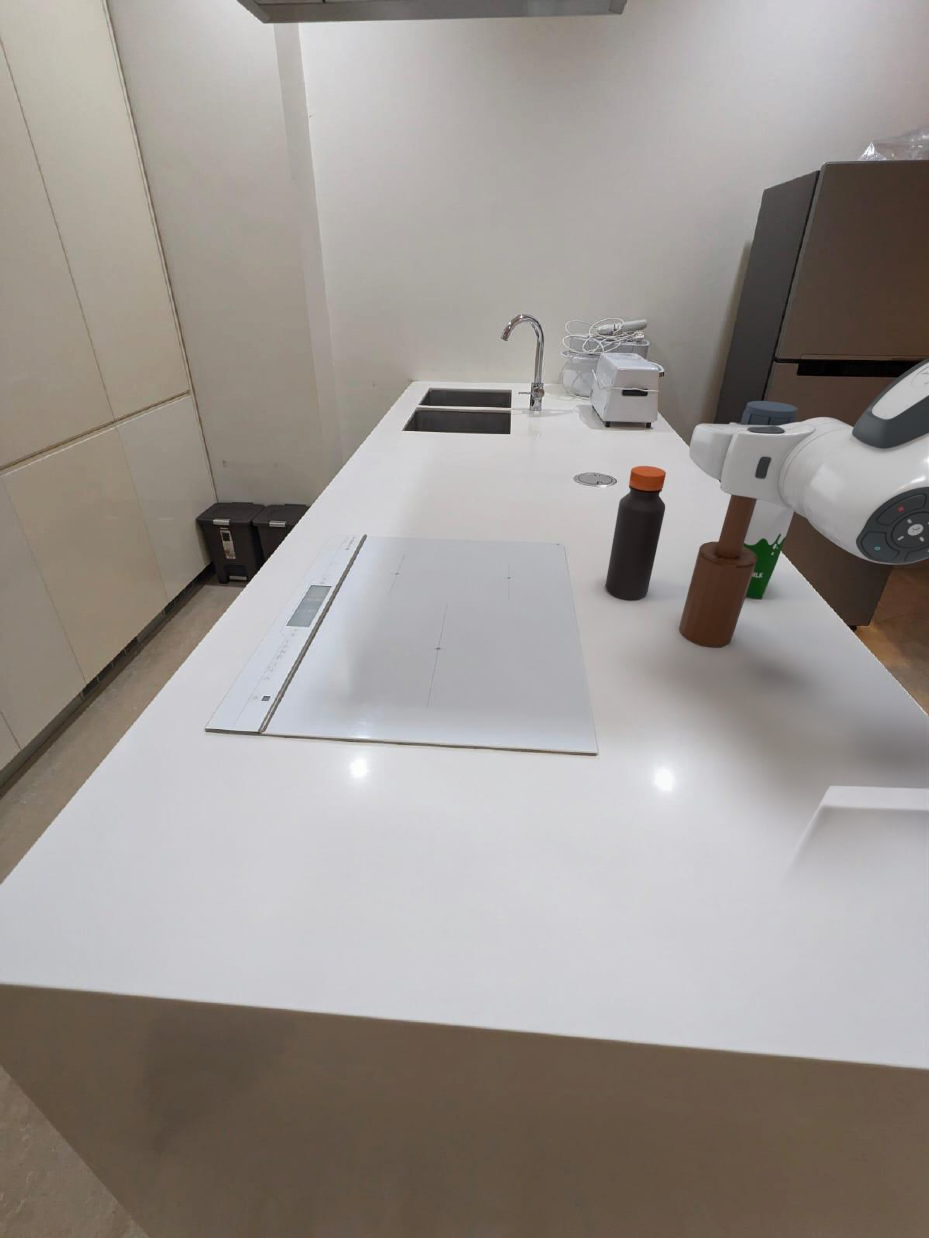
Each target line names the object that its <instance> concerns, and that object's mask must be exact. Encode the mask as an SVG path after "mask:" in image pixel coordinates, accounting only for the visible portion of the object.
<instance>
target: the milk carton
mask: <svg viewBox="0 0 929 1238" xmlns="http://www.w3.org/2000/svg"><path fill="white" fill-rule="evenodd" d="M794 513H795V511H794V510H792V509H791V508H790V507H789V508H785V507H782V506H779V505H776V504H774V503H771V502H768V501H764V500H759V499H757V501H756V505H755V508H754V511H753V515H752V518H751V521H750V524H749V528H748V531H747V534H746V538H745V541H744V544H743V546H744V547H746V548H748V549H750V550H752V551H753V552H754V553H755V554H756V556H757V562H756V565H755V568H754V571H753V575H752V578H751V581H750V584H749V587H748V590H747V593H746V596H745V597H748V598H754V599H760V600H761V599H762V600H763V596H764V594H765V592H766V590H767V587H768V584H769V582H770V580H771V579H772V575H773V573H774V571H775V568H776V566H777V563H778V561H779V558H780V554H781V551H782V549H783V545H784V543H785V540H786V537H787V534H788V531H789V528H790V526H791V522H792V519H793V516H794Z"/></svg>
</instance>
